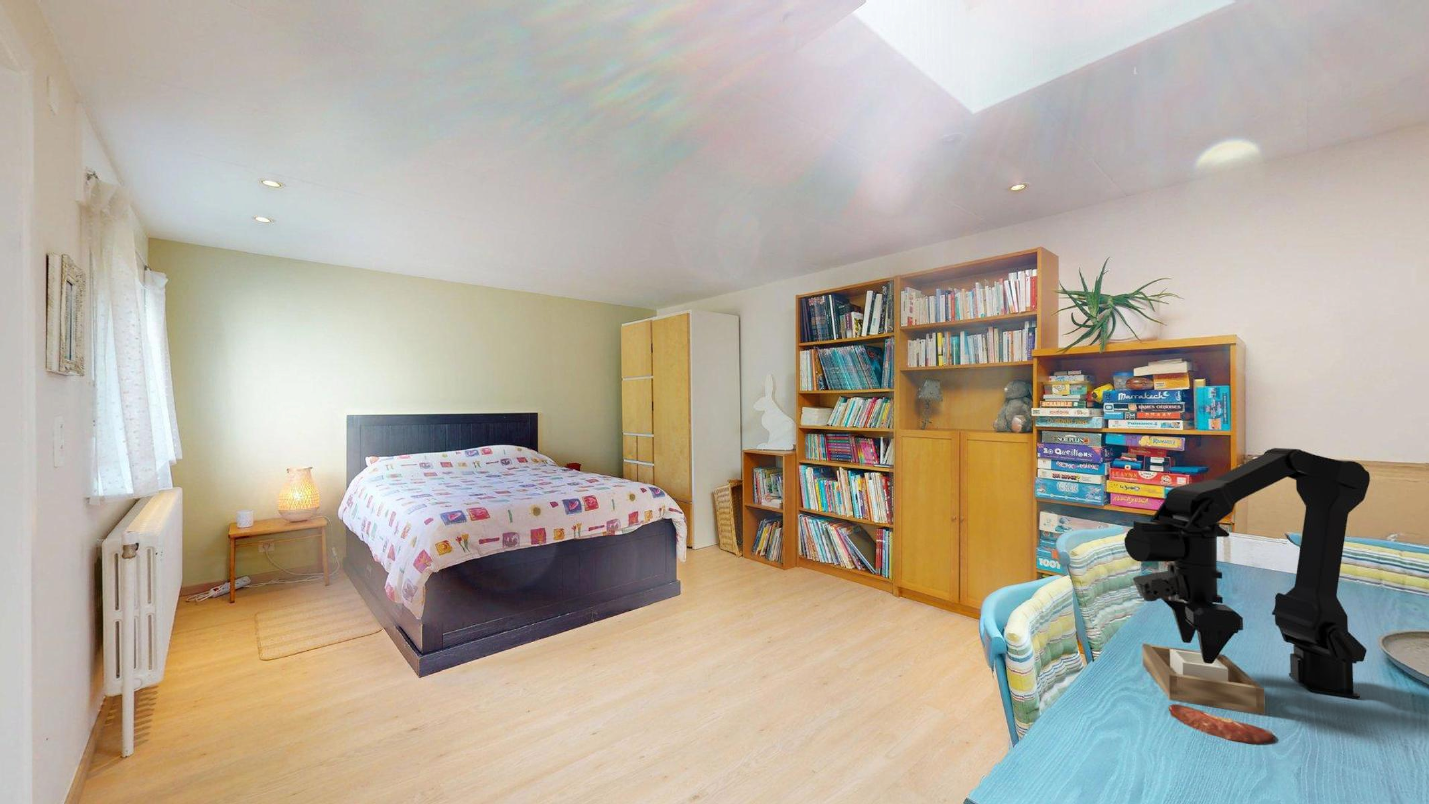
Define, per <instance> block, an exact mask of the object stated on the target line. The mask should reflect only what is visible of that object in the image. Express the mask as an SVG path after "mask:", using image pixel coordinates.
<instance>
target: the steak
mask: <svg viewBox="0 0 1429 804" xmlns="http://www.w3.org/2000/svg"><path fill="white" fill-rule="evenodd" d="M1168 711H1169V714H1170V716H1171V717H1173V718H1175V719H1176V720H1177V721H1179V722H1180V723H1182V724H1184V725H1186V726H1188V727H1190V728H1192V729H1194V730H1197V731H1199V732H1202V733H1204V734H1206V735H1211V736H1215V737H1218V738H1221V739H1224V740H1227V741H1231V742H1236V743H1241V744H1249V745H1257V746H1258V745H1267V744H1268V745H1270V744H1271V745H1272V744H1274V743H1275V742H1276V735H1274V733H1273V732H1272V731H1271V730H1267V729H1265V728H1262V727H1259V726H1256V725H1253V724H1249V723H1244V722H1240V721H1235V720H1233V719H1232V718H1229V717H1227V718H1226V717H1220V716H1219V715H1213V714H1211V713H1207V712H1205V711H1203V710H1200V709H1197V708H1193V707H1190V706H1186V705H1181V704H1176V703H1175V704H1171V705H1169V706H1168Z"/></svg>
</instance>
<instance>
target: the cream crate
mask: <svg viewBox="0 0 1429 804" xmlns="http://www.w3.org/2000/svg"><path fill="white" fill-rule="evenodd" d="M1170 669H1171V670H1172V671H1173V672H1174V674H1181V675H1187V676H1194V677H1201V678H1207V679H1214V680H1221V681H1227V682H1228V669H1227V668H1226V667H1225V666H1224V665H1223V664H1222V663H1221V662H1220V661H1219V660H1218V659H1215V661H1214V662H1213V663H1212V664H1208V663H1205V662H1204V661H1203V658H1202V654H1201V653H1195V652H1188V651H1181V650H1173V649H1170Z"/></svg>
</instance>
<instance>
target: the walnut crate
mask: <svg viewBox="0 0 1429 804" xmlns="http://www.w3.org/2000/svg"><path fill="white" fill-rule="evenodd" d="M1170 649H1173V650H1181V651H1188V652H1195V653H1201V650H1193V649H1186V648H1185V649H1183V648H1179V647H1178V648H1177V647H1169V646H1163V645H1156V644H1149V643H1148V644H1147V643H1142V665H1143V667H1144V669H1146V671H1147V673H1149V675H1150V676H1151V678H1152V679H1153V678H1154V679H1153V680H1154V681H1155V682H1156V684H1157V683H1158V684H1157V685H1158V686H1159V688H1160V687H1161V688H1160V689H1161V690H1162V692H1163V691H1164V692H1165V693H1166V694H1165V693H1164V692H1163V693H1164V694H1165V695H1166V697H1167V698H1168V699H1169V700H1171V701H1174V702H1175V701H1176V702H1183V703H1188V704H1195V705H1200V706H1207V707H1212V708H1213V707H1214V708H1218V709H1225V710H1231V711H1237V712H1243V713H1247V714H1255V715H1262V716H1266V705H1265V703H1266V702H1265V700H1266V698H1265V696H1266V694H1265V689H1264V688H1263V687H1262V686H1261V685H1260V684H1259V682H1257V681H1256V680H1254V679H1253V678H1252V677H1251V676H1249V674H1247V673H1246V672H1245V671H1244V670H1242V669H1241V668H1240V667H1239V666H1238V665H1237V664H1236V663H1234V662H1233V661H1232V660H1231V659H1230V658H1229V657H1228V656H1226V655H1225V654H1222V653H1219V655H1218V656H1217V658H1216V659H1218V660H1219V661H1220V662H1221V663H1222V664H1223V665H1224V666H1225V667H1226V668H1227V669H1228V682H1227V681H1221V680H1214V679H1207V678H1201V677H1194V676H1187V675H1181V674H1174V672H1173V671H1172V670H1171V669H1170Z"/></svg>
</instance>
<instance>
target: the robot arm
mask: <svg viewBox="0 0 1429 804" xmlns="http://www.w3.org/2000/svg"><path fill="white" fill-rule="evenodd" d="M1285 478H1289V479H1292V480H1295V489H1296V492H1297V493H1298V495H1299V497H1300V499H1301V501H1302V502H1303V504H1304V506H1305V511H1304V517H1303V518H1304V520H1303V526H1302V533H1301V538H1300V540H1301V541H1300V547H1299V553H1298V561H1297V568H1296V574H1295V580H1294V585H1293V587H1292V588H1291V589H1289V591H1287V592H1286V593H1285V594H1283V593H1281V592H1277V593H1276V594H1275V596H1274V608H1273V610H1272V612H1271V615H1273V616H1274V623H1275V626H1276V627H1278V629H1279V631H1280V634H1281V637H1282V638H1283V639H1282V640H1283V642H1286V643H1289V644H1292V648H1293V653H1290V654H1289V665H1290V669H1289V670H1290V672H1289V673H1288V676H1289V677H1290V678H1292V680H1294V681H1295V682H1296V683H1298V684H1299V685H1300V686H1301V687H1303V688H1304V689H1306V690H1307V691H1309V692H1312V693H1320V694H1321V693H1322V694H1326V695H1333V696H1340V697H1345V698H1346V697H1348V698H1353V699H1361V694H1359V693H1357V692H1356V691H1354V668H1353V667H1354V666H1353V665H1354V664H1357V663H1358V662H1361V663H1362V662H1364V661H1365V657H1366V655H1367V650H1368V649H1367V648H1366V647H1365V646H1364V644H1362V643H1361V642H1360V641H1359V640H1358V639H1357V638H1356V637H1355V636H1354V635H1352V634H1351V633H1350V632H1349V623H1348V622H1349V621H1348V620H1349V619H1348V618H1349V617H1348V614H1347V613H1346V611H1345V609H1344V607H1343V605H1342V604H1341V602H1340V601H1339V599H1338V588H1339V587H1338V586H1339V582H1340V581H1339V579H1340V573H1341V569H1342V568H1341V567H1342V566H1341V565H1342V559H1343V555H1344V554H1343V552H1344V546H1345V537H1346V532H1347V531H1346V530H1347V524H1348V517H1349V514H1350V512H1352V511H1353V510H1354V509H1355V508H1357V507H1358V505H1360V504H1361V503H1362V502H1363V501H1364V500H1365V498H1366V495H1367V491H1368V488H1369V485H1370V481H1371V479H1370V478H1371V475H1370V472H1369V470H1366V469H1365V468H1364V466H1363V465H1362V464H1360V462H1356V461H1353V460H1341V459H1339V460H1338V459H1333V458H1331V457H1325V456H1322V455H1316V454H1313V453H1310V452H1308V451H1304V450H1302V449H1301V448H1300V449H1299V448H1285V447H1282V448H1279V447H1272V448H1270V449H1267V450H1266V451H1264V452H1263V454H1261V455H1259V456H1257V457H1255V458H1253V459H1251V460H1248V461H1247V462H1245V463H1242V464H1241V465H1238V466H1237V467H1235V468H1233V469H1231V470H1229V471H1227V472H1224V473H1222V474H1220V475H1218V476H1215V478H1212V479H1209V480H1205V481H1199V482H1189V483H1187V484H1183V485H1180V486H1176V487H1173V488H1171V489H1170V490H1168V491H1167V493H1166V495H1165V499H1164V500H1163V502H1162V503H1161V505H1159V507H1158V509H1157V510H1156V511H1155V513H1154V514H1153V516H1152V517H1151V518H1150V520H1149V521H1150V522H1148V521H1141V520H1140V521H1139V520H1134V521H1133V527H1132V528H1130V529H1128V531H1127V533H1126V536H1125V537H1124V539H1123V540H1124V541H1123V542H1124V547H1125V550H1126V553H1127V554H1128V555H1129V557H1130V558H1132V560H1134V561H1136V562H1142V563H1143V562H1148V563H1149V562H1169V564H1167V570H1166V571H1160V572H1152V573H1149V574H1142V575H1137V576H1135V577H1133V578H1132V580H1133V583H1134V584H1135V587H1136V589H1137V591H1138V594H1139V596H1140V597H1141V598H1143V599H1144V601H1146V602H1156V601H1157V600H1159V599H1160V600H1162V601H1163V603H1165V604H1166V605H1167V606H1168V607H1169V608H1170V609H1171V612H1172V614H1173V617H1174V619H1175V622H1176V623H1175V624H1176V626H1177V629H1178V633H1179V635H1180V638H1181V641H1182V642H1183V643H1184V644H1186V643H1187V644H1191V642H1192V640H1193V638H1194V636H1195V633H1196V634H1197V639H1198V645H1199V648H1200V651H1201V654H1202V658H1203V661H1204V662H1205V663H1208V664H1212V663H1213V662H1214V661H1215V659H1216V658H1217V656H1218V655H1219V654H1221V652H1222V650H1223V649H1224V647H1225V646H1226V645H1227V643H1228V642H1229V641H1230V640H1231V639H1232V638H1233V636H1234V635H1235V634H1238V633H1239V631H1244V617H1242V616H1241V615H1240V614H1239V613H1238V612H1237V611H1235V610H1234V609H1233V608H1231V607H1230V606H1228V605H1227V604H1224V603H1223V602H1224V600H1223V599H1224V597H1223V596H1222V595H1219V594H1218V579H1221V580H1222V579H1223V572H1221V571H1220V570H1218V562H1217V561H1218V558H1217V557H1218V555H1217V553H1218V552H1217V538H1221V537H1223V538H1228V537H1230V532H1228V531H1226V530H1225V529H1224V528H1223V527H1221V526H1220V525H1219V522H1221V521H1222V520H1223V519H1224V518H1226V517H1227V516H1228V515H1230V514H1232V513H1233V511H1234V509H1235V506H1236V504H1237V503H1238V502H1240V501H1242V500H1243V499H1245V498H1248V497H1249V496H1252V495H1254V494H1255V493H1257V492H1259V491H1261V490H1263V489H1266V488H1267V487H1269V486H1272V485H1274V484H1276V483H1278V482H1280V481H1281V480H1284V479H1285Z"/></svg>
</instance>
